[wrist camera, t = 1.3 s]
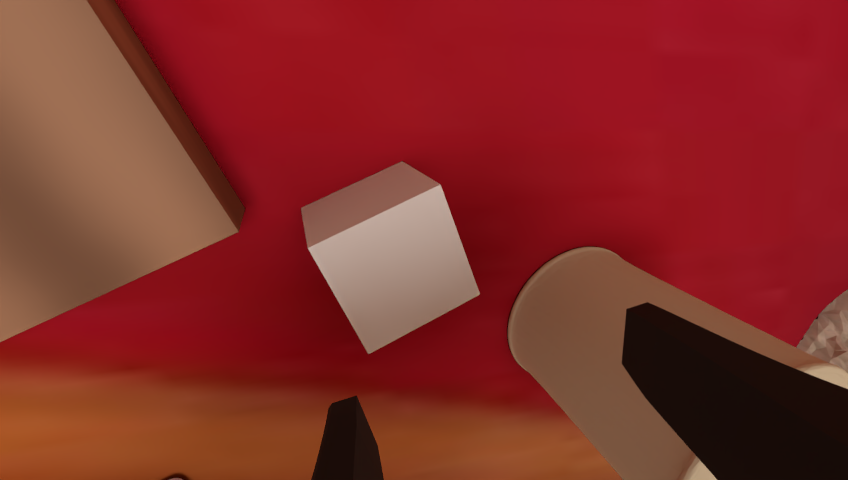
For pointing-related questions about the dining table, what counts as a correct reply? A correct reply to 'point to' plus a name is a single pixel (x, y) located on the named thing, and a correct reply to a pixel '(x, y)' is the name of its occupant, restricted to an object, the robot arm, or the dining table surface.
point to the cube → (389, 253)
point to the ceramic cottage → (829, 334)
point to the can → (620, 356)
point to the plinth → (93, 162)
